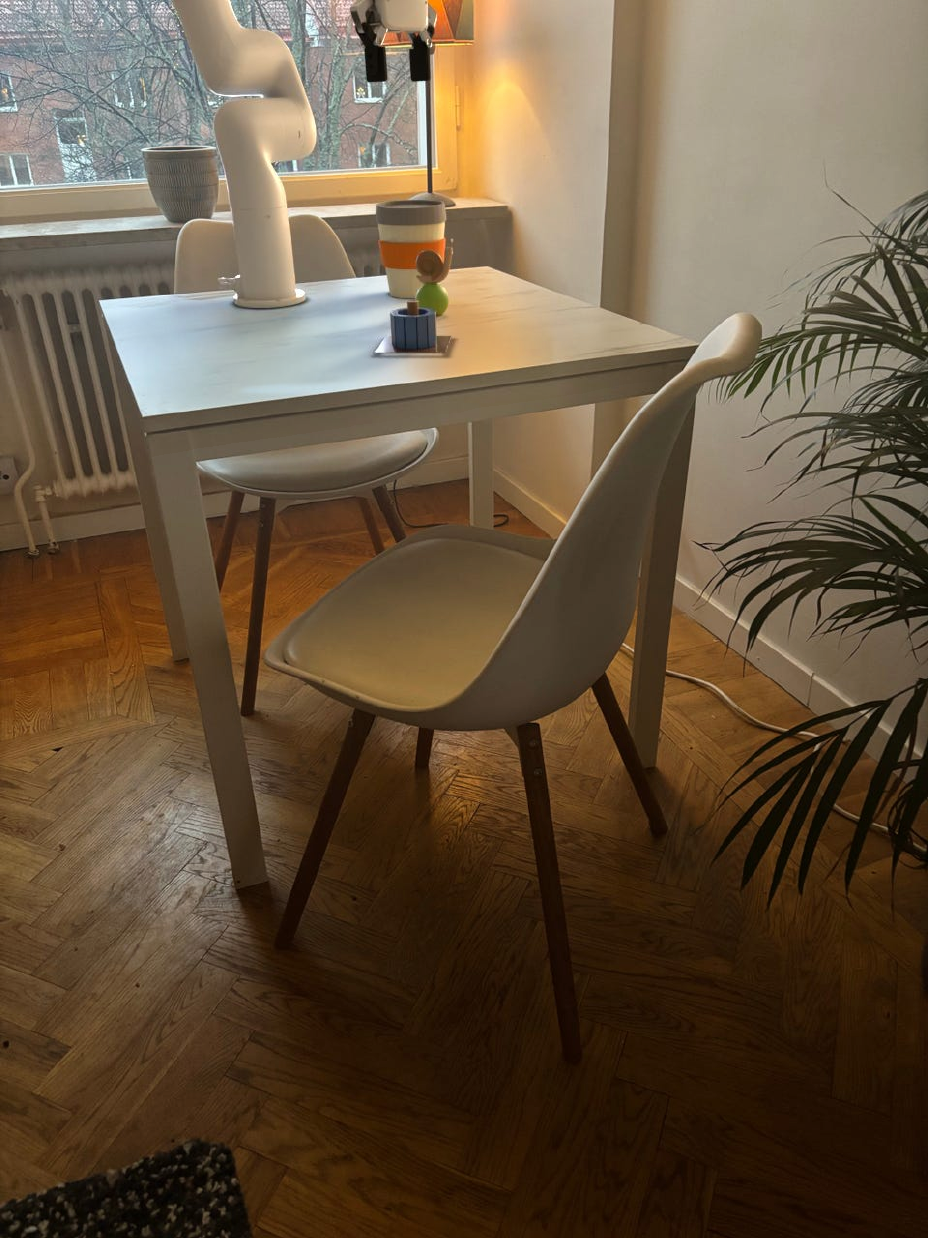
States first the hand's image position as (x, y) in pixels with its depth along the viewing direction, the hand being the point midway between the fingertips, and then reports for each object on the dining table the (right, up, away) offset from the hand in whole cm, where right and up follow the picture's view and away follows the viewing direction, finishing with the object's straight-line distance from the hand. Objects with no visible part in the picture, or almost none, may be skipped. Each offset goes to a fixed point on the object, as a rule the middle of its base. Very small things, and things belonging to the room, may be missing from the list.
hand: (399, 81), depth 129 cm
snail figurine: (+4, -25, +24) cm, 35 cm away
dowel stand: (+2, -35, +7) cm, 35 cm away
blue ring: (+2, -34, +7) cm, 35 cm away
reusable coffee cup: (0, -15, +42) cm, 44 cm away
